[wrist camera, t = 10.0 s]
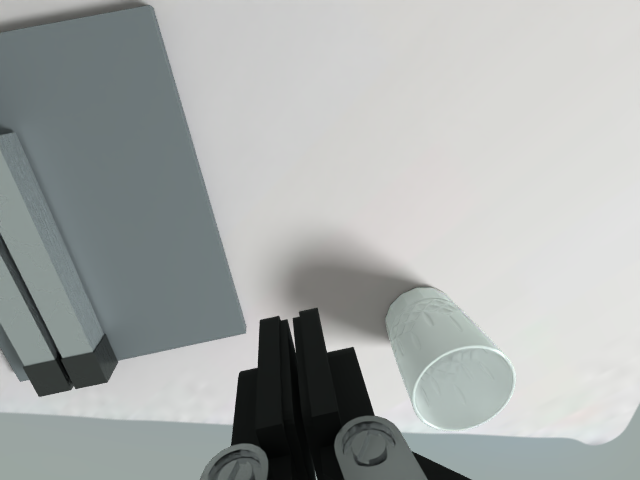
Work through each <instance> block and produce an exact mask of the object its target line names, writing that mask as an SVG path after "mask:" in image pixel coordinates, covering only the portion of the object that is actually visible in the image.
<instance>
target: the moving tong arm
mask: <svg viewBox="0 0 640 480" xmlns="http://www.w3.org/2000/svg"><path fill="white" fill-rule="evenodd" d="M0 233H1V235H2V237H3V239H4V241H5V243H6V245H7V247H8V249H9V251H10V253H11V255H12V257H13V259H14V261H15V263H16V265H17V267H18V269H19V271H20V273H21V276H22V278H23V280H24V282H25V284H26V286H27V288H28V290H29V292H30V294H31V296H32V298H33V300H34V302H35V304H36V306H37V308H38V310H39V312H40V314H41V316H42V318H43V320H44V322H45V324H46V326H47V328H48V330H49V332H50V334H51V336H52V338H53V340H54V342H55V344H56V346H57V348H58V350H59V352H60V354H61V356H62V359H61V361H62V363H63V365H64V367H65V369H66V371H67V373H68V375H69V377H70V379H71V381H72V383H73V385H74V387H75V389H78V388H83V387H88V386H93V385H97V384H102V383H107V382H108V380H109V379H110V377H111V375H112V373H113V371H114V369H115V367H116V365H117V364H118V361H117V358H116V356H115V354H114V351H113V349H112V347H111V345H110V342H109V340H108V338H107V335H106V334H104V333H103V331H102V329H101V326H100V324H99V322H98V319H97V317H96V315H95V313H94V310H93V308H92V306H91V303H90V301H89V299H88V297H87V294H86V292H85V290H84V287H83V285H82V283H81V281H80V278H79V276H78V274H77V271H76V269H75V267H74V265H73V262H72V260H71V258H70V255H69V253H68V251H67V249H66V246H65V244H64V242H63V239H62V237H61V235H60V233H59V230H58V228H57V226H56V223H55V221H54V219H53V217H52V214H51V212H50V210H49V207H48V205H47V203H46V201H45V198H44V196H43V194H42V191H41V189H40V187H39V185H38V182H37V180H36V178H35V175H34V173H33V171H32V169H31V166H30V164H29V162H28V159H27V157H26V155H25V153H24V150H23V148H22V146H21V143H20V141H19V139H18V137H17V134H16V132H13V133H8V134H2V135H0Z"/></svg>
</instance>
